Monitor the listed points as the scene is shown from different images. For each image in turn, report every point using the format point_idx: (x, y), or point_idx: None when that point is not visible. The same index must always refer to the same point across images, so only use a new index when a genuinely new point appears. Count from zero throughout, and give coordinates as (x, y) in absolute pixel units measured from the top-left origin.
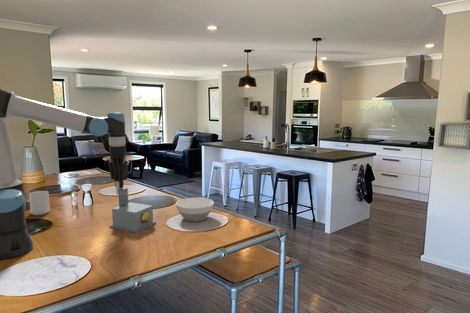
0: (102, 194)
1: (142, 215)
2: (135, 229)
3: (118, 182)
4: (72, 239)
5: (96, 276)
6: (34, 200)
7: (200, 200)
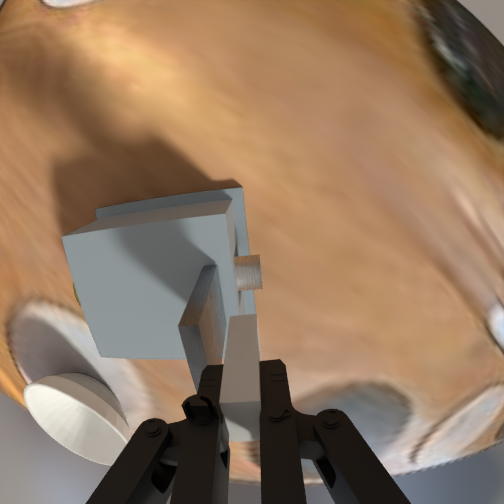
0: (494, 385)
1: None
2: (105, 217)
3: (220, 396)
4: (254, 22)
5: (19, 8)
6: None
7: (108, 457)
